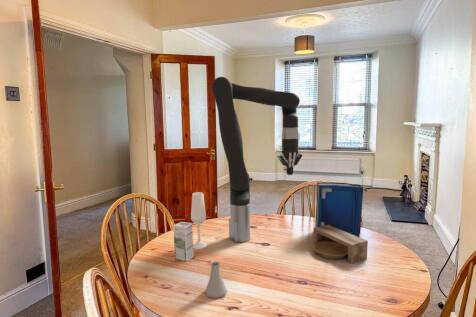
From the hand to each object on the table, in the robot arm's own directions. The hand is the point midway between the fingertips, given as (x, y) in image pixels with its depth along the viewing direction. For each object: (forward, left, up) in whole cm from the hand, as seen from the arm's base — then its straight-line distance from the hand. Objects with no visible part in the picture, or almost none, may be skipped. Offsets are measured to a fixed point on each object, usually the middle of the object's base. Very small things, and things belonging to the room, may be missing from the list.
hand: (289, 174), depth 144 cm
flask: (-50, -27, -31) cm, 65 cm away
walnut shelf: (+9, -23, -30) cm, 39 cm away
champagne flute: (-41, +12, -31) cm, 53 cm away
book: (+24, -8, -31) cm, 40 cm away
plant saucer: (+4, -23, -31) cm, 39 cm away
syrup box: (-51, +3, -31) cm, 60 cm away
